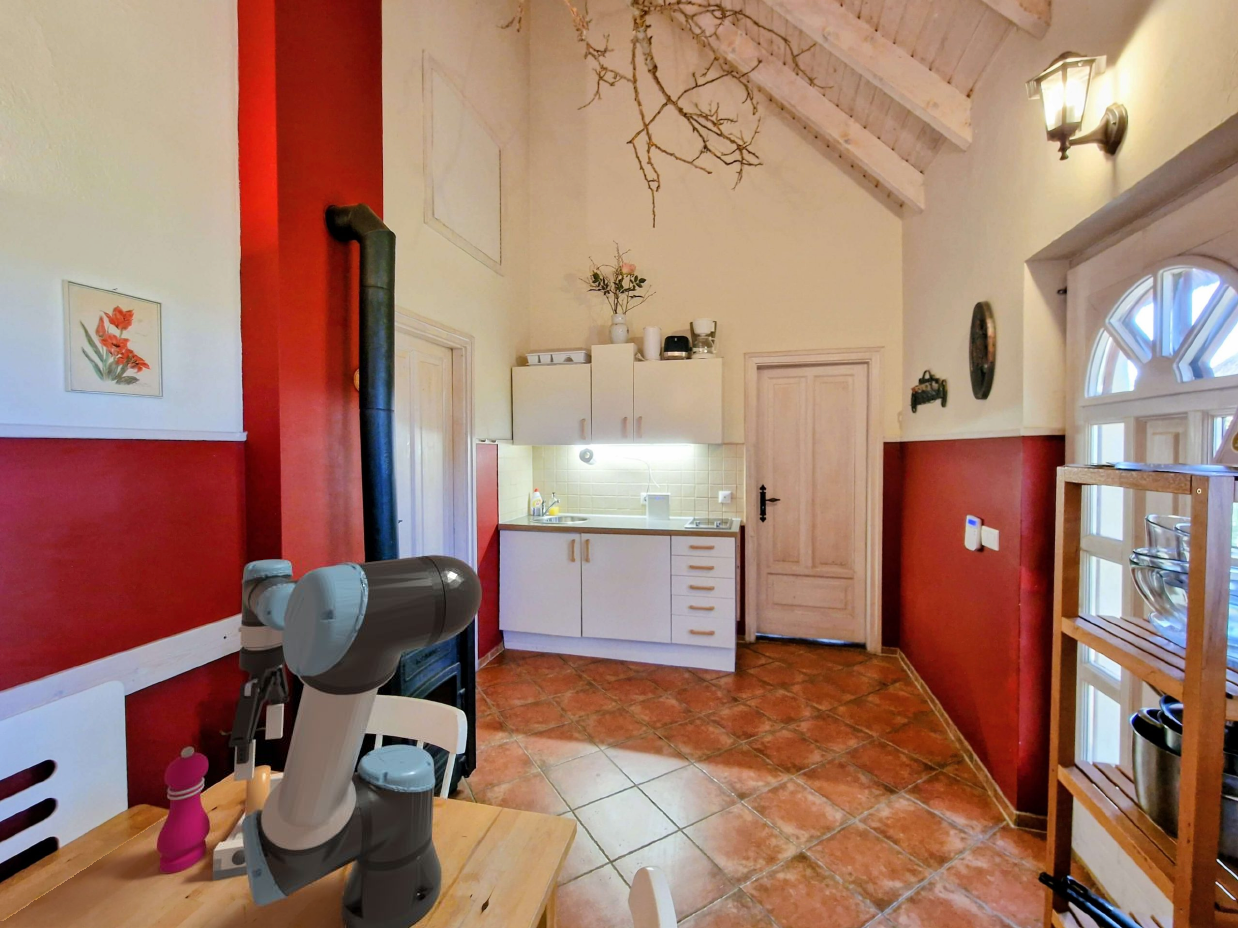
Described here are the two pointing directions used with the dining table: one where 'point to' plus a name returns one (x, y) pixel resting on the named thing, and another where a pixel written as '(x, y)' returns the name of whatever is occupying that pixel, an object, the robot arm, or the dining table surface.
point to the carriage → (256, 792)
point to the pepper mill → (184, 814)
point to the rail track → (235, 847)
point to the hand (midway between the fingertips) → (260, 756)
